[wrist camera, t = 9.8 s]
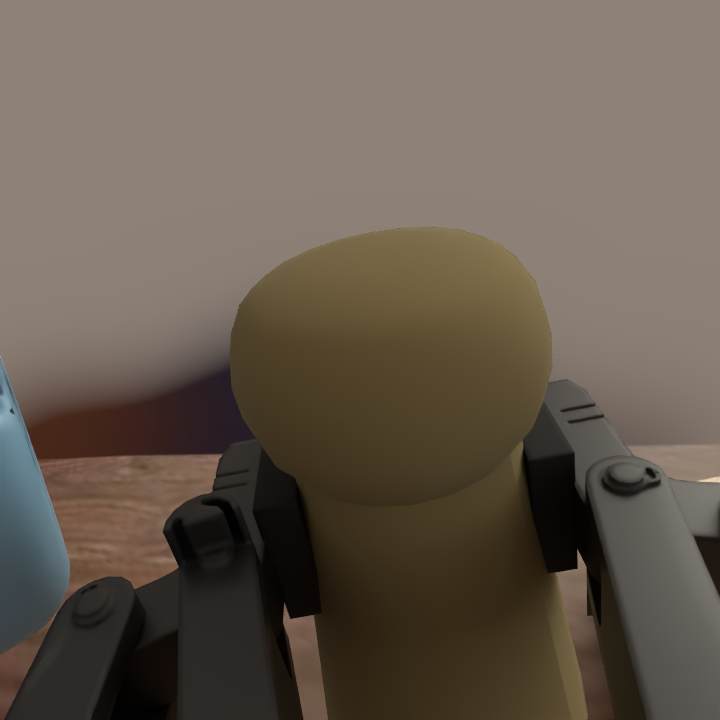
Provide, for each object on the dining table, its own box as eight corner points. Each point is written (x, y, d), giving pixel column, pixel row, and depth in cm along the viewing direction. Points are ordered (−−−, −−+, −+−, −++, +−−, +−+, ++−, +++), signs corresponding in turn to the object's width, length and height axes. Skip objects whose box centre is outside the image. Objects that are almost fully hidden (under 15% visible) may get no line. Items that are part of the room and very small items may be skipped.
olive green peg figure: (281, 686, 16) (121, 284, 10) (454, 553, 18) (396, 182, 13) (447, 921, 11) (308, 411, 6) (645, 696, 14) (673, 213, 8)
